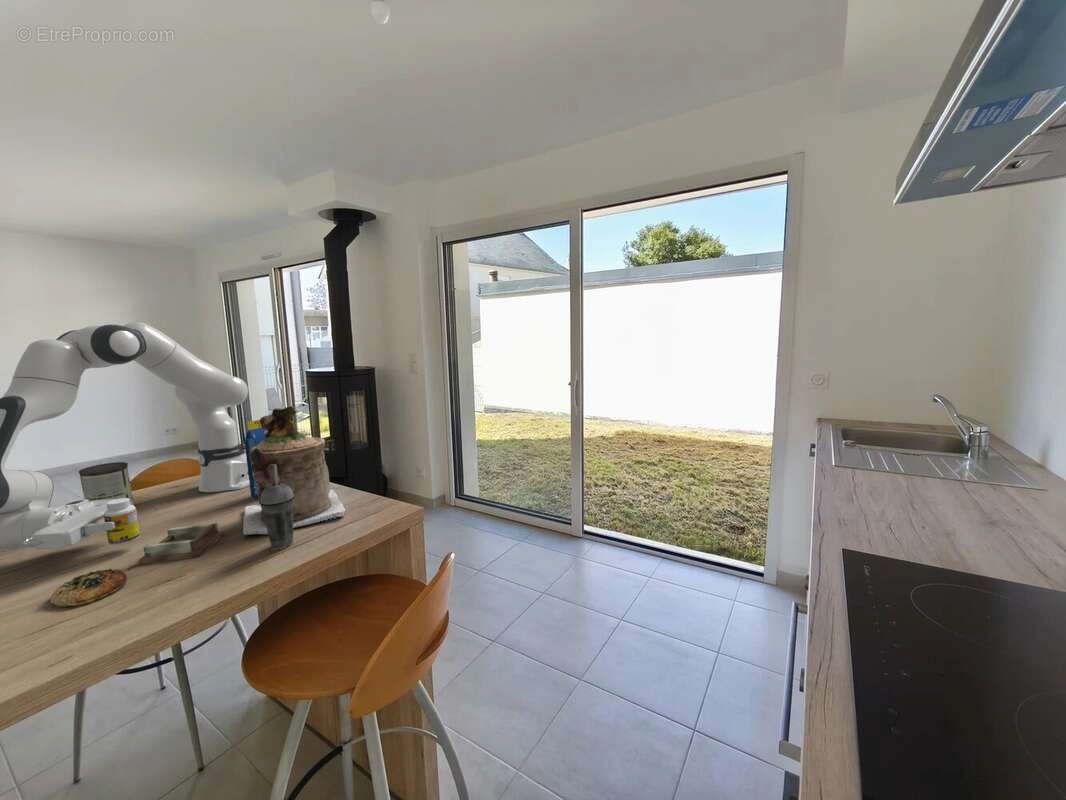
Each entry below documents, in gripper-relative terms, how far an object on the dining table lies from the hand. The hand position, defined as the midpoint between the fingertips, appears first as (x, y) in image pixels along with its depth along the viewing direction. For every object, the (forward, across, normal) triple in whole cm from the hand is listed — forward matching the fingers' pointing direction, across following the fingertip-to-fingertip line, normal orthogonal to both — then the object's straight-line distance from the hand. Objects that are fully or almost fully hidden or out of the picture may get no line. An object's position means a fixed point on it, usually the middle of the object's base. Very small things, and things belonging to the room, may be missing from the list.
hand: (125, 518), depth 103 cm
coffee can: (-22, +30, +9) cm, 39 cm away
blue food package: (+21, +35, +9) cm, 41 cm away
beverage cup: (+36, -8, +8) cm, 37 cm away
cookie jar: (+33, +13, +9) cm, 36 cm away
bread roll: (+4, -20, +8) cm, 22 cm away
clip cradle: (+13, -3, +8) cm, 15 cm away
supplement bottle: (-1, 0, +6) cm, 6 cm away
